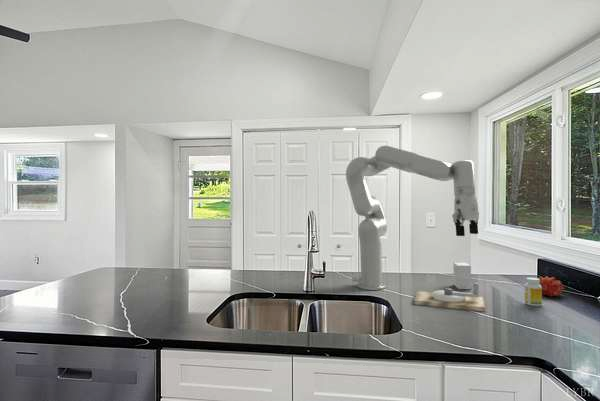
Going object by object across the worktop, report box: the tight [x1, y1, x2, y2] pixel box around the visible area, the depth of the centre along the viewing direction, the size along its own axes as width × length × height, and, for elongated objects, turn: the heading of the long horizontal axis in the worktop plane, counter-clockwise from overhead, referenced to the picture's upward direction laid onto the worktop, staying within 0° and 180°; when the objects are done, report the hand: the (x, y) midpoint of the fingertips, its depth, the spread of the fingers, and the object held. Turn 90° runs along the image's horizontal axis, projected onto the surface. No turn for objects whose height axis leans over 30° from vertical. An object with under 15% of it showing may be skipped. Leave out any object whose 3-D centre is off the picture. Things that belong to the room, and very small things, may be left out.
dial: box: [431, 282, 480, 303], centre depth 133 cm, size 16×12×6 cm
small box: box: [452, 262, 472, 290], centre depth 156 cm, size 8×6×10 cm
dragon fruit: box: [537, 275, 565, 297], centre depth 141 cm, size 8×8×12 cm
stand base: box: [413, 290, 486, 312], centre depth 134 cm, size 24×14×2 cm, turn 65°
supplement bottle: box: [524, 277, 543, 307], centre depth 130 cm, size 5×5×10 cm
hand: (467, 234), depth 138 cm, fingers open, 9 cm apart
